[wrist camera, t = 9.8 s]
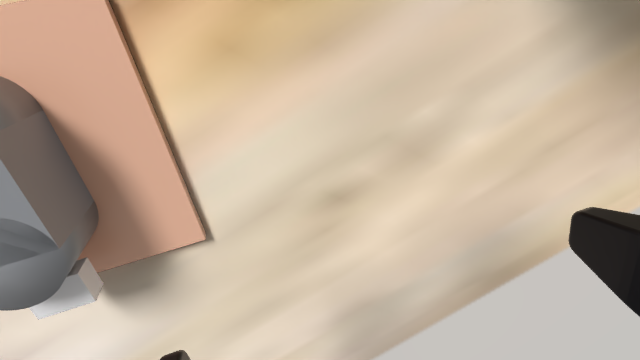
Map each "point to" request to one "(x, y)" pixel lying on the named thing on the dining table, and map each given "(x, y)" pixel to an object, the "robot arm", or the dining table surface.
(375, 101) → the dining table surface
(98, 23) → the plate
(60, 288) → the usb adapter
